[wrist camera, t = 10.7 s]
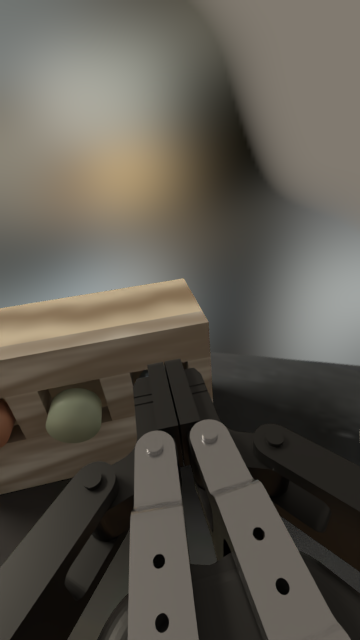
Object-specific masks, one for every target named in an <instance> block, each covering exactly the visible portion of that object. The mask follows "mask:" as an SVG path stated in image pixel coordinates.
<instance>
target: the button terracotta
mask: <svg viewBox="0 0 360 640" xmlns="http://www.w3.org/2000/svg"><path fill="white" fill-rule="evenodd" d="M15 421H16V419H15V417H14V415H13V413H12V411H11V409H10V407H9V405H8V404H7V402H5V401H3V400H0V448H1V447H3V446H4V445H5V444H6V443H7V442H8V440H9V437H10V435H11V432H12V429H13V427H14V424H15Z"/></svg>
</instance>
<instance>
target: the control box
mask: <svg viewBox="0 0 360 640" xmlns="http://www.w3.org/2000/svg"><path fill="white" fill-rule="evenodd" d="M179 358H180V359H181V362H182V365H183V368H184V369H188V368H195V369H196V370H197V371H198V372H199V373H201V375H202V377H203V380H204V382H205V385H206V387H207V390H208V392H209V395H210V397H211V400H212V402H213V394H212V376H211V358H210V341H209V322H208V320H207V318H206V317H205V315H204V313H203V311H202V310H201V308H200V306H199V305H198V303H197V301H196V299H195V297H194V296H193V294H192V292H191V291H190V289H189V287H188V285H187V284H186V282H185V280H184V279H177V280H171V281H165V282H159V283H153V284H146V285H140V286H134V287H128V288H122V289H117V290H110V291H104V292H98V293H92V294H86V295H79V296H73V297H67V298H61V299H55V300H49V301H43V302H37V303H30V304H24V305H19V306H12V307H6V308H0V400H3V401H5V402H7V404H8V405H9V407H10V409H11V411H12V413H13V415H14V417H15V419H16V421H15V424H14V427H13V429H12V432H11V435H10V437H9V440H8V442H7V443H6V444H5V445H4V446H3V447H1V448H0V495H1V494H5V493H9V492H13V491H18V490H22V489H26V488H30V487H35V486H39V485H43V484H47V483H52V482H56V481H60V480H64V479H69V478H73V477H74V476H75V475H76V474H77V472H78V471H79V470H80V469H81V468H83V467H84V466H86V465H87V464H89V463H92V462H96V461H103V462H106V463H108V464H110V465H112V464H114V463H116V462H118V461H119V460H121V459H123V458H124V457H126V456H127V455H128V454H129V453H130V452H131V451H132V450H133V448H134V446H135V444H136V441H137V430H136V418H135V406H134V395H133V386H134V384H135V382H136V380H137V378H139V376H140V375H141V373H142V372H143V371H144V370H147V369H148V368H147V365H148V364H153V363H158V362H163V364H164V361H169V360H174V359H179ZM164 366H165V365H164ZM71 388H83V389H87V390H90V391H92V392H94V393H95V394H96V395H98V397H99V398H100V399H101V402H102V418H101V428H100V430H99V432H98V433H97V434H96V435H95V436H94V437H93V438H91V439H89V440H87V441H84V442H80V443H64V442H60V441H58V440H56V439H54V438H53V437H51V436H50V435H49V433H48V432H47V430H46V421H47V417H48V413H49V409H50V405H51V402H52V400H53V398H54V397H55V396H56V395H57V394H58V393H60V392H62V391H64V390H67V389H71ZM181 452H182V451H181Z"/></svg>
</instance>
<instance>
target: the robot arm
mask: <svg viewBox="0 0 360 640" xmlns="http://www.w3.org/2000/svg"><path fill="white" fill-rule="evenodd" d="M164 365H165V368H164ZM147 368H148V374H149V376H147V377H142V378H137V380H136V382H135V384H134V386H133V395H134V406H135V418H136V430H137V441H136V444H135V446H134V448H133V450H132V451H131V452H130V453H129V454H128V455H127V456H126V457H124V458H123V459H121V460H119V461H118V462H116V463H114V464H112V465H110V464H108V463H106V462H103V461H96V462H92V463H89V464H87V465H86V466H84V467H83V468H81V469H80V470H79V471H78V472H77V474H76V475H75V476H74V477H73V478H72V480H71V481H70V482H69V483H68V485H67V486H66V487H65V488H64V490H63V491H62V492H61V493H60V495H59V496H58V497H57V498H56V499H55V501H54V502H53V503H52V504H51V506H50V507H49V508H48V509H47V511H46V512H45V513H44V514H43V515H42V517H41V518H40V519H39V520H38V522H37V523H36V524H35V525H34V527H33V528H32V529H31V530H30V532H29V533H28V534H27V535H26V536H25V538H24V539H23V540H22V541H21V543H20V544H19V545H18V546H17V548H16V549H15V550H14V551H13V552H12V554H11V555H10V556H9V557H8V559H7V560H6V561H5V562H4V564H3V565H2V566H1V567H0V640H67V639H68V637H69V635H70V634H71V632H72V630H73V628H74V627H75V625H76V623H77V621H78V619H79V618H80V616H81V614H82V612H83V611H84V609H85V607H86V605H87V604H88V602H89V600H90V598H91V597H92V595H93V593H94V591H95V589H96V588H97V586H98V584H99V582H100V581H101V579H102V577H103V575H104V574H105V572H106V570H107V568H108V566H109V565H110V563H111V561H112V559H113V558H114V556H115V554H116V552H117V551H118V549H119V547H120V545H121V543H122V542H123V540H124V538H125V536H126V535H127V533H128V530H129V528H130V554H129V594H127V595H126V596H125V597H124V598H123V600H122V601H121V602H120V603H119V604H118V605H117V607H116V608H115V609H114V611H113V612H112V613H111V615H110V617H109V618H108V620H107V622H106V623H105V625H104V627H103V629H102V631H101V633H100V635H99V637H98V639H97V640H360V593H359V592H357V591H356V590H355V589H353V588H352V587H351V586H350V585H348V584H347V583H346V582H345V581H343V580H342V579H341V578H339V577H338V576H337V575H336V574H334V573H333V572H332V571H331V570H329V569H328V568H327V567H325V566H324V565H323V564H322V563H320V562H319V561H317V560H316V559H314V558H313V557H311V556H309V555H307V554H305V553H303V552H301V551H298V549H297V547H296V546H295V544H294V542H293V540H292V538H291V536H290V534H289V533H288V531H287V529H286V527H285V525H284V523H283V521H282V519H281V518H280V516H281V517H283V518H284V519H286V520H287V521H289V522H290V523H291V524H293V525H294V526H296V527H297V528H298V529H300V530H301V531H303V532H304V533H306V534H307V535H308V536H310V537H311V538H313V539H314V540H315V541H317V542H318V543H320V544H321V545H323V546H324V547H325V548H327V549H328V550H330V551H331V552H332V553H334V554H335V555H337V556H338V557H340V558H341V559H342V560H344V561H345V562H347V563H348V564H350V565H351V566H352V567H354V568H355V569H357V570H358V571H359V572H360V466H358V465H356V464H354V463H352V462H350V461H348V460H347V459H345V458H343V457H341V456H339V455H337V454H335V453H333V452H331V451H329V450H327V449H325V448H323V447H321V446H319V445H317V444H316V443H314V442H312V441H310V440H308V439H306V438H304V437H302V436H300V435H298V434H296V433H294V432H292V431H290V430H288V429H286V428H284V427H282V426H280V425H277V424H264V425H261V426H260V427H258V428H257V429H256V430H255V432H254V433H248V432H237V431H234V430H231V429H229V428H227V427H226V426H225V425H223V424H222V422H221V421H220V419H219V417H218V415H217V412H216V410H215V407H214V405H213V402H212V400H211V397H210V395H209V392H208V390H207V387H206V385H205V382H204V380H203V377H202V375H201V373H199V372H198V371H197V370H196V369H195V368H188V369H184V368H183V365H182V362H181V359H180V358H179V359H174V360H169V361H164V364H163V362H158V363H153V364H148V365H147ZM181 451H182V452H181ZM182 455H183V460H184V464H185V466H186V465H190V464H191V468H192V472H193V476H194V485H195V488H196V491H197V494H198V497H199V500H200V503H201V506H202V509H203V513H204V516H205V519H206V522H207V525H208V528H209V531H210V534H211V537H212V541H213V545H214V550H215V554H216V558H217V562H216V563H214V564H212V565H194V564H190V557H189V550H188V542H187V534H186V526H185V518H184V510H183V502H182V494H181V486H182V481H181V473H180V467H182V466H183V460H182ZM279 515H280V516H279Z"/></svg>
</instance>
